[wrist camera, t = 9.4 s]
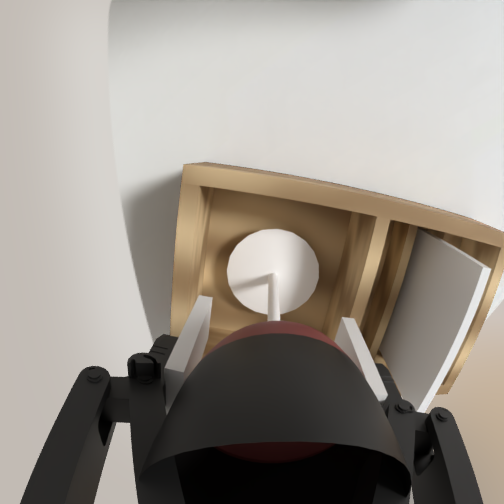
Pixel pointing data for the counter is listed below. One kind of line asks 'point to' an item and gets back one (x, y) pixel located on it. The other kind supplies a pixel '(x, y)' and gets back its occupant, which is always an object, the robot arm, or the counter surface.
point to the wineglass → (274, 398)
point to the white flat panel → (431, 316)
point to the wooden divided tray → (315, 250)
